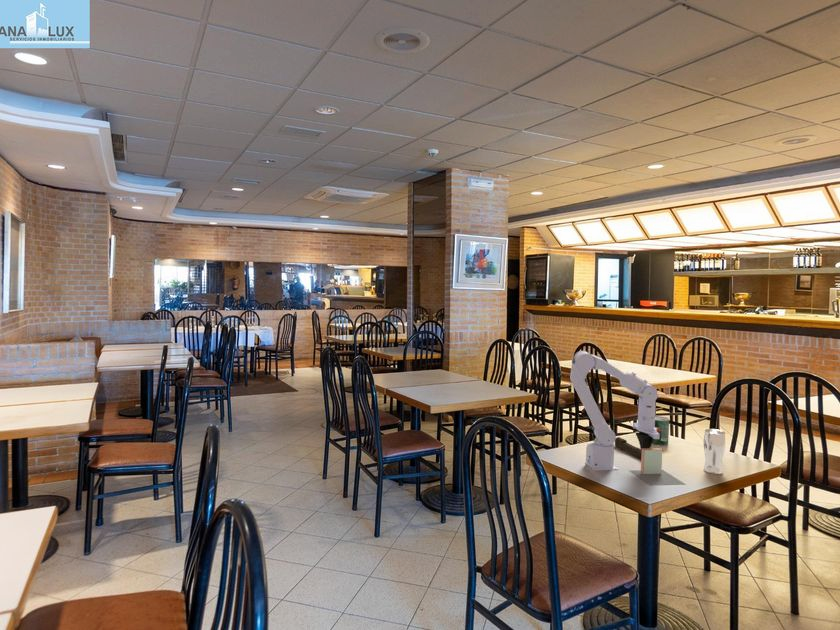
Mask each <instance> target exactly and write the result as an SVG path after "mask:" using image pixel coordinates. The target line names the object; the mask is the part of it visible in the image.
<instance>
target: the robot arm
mask: <svg viewBox="0 0 840 630" xmlns="http://www.w3.org/2000/svg"><path fill="white" fill-rule="evenodd" d="M591 370H595V371H597V370H598V371H599V370H601V371H603V372H605V373H607V374H608V375H610V376H612V377H613V378H616V379H617V380H618V381H619V384H620V386H622V387H623V388H625V389H627V390H629V391H630V392H632V393H634V394H635V395H638V406H637V409H638V411H637V422H634V423H632V428H633V429H635V430H636V431H637V432H635V436H636V438H637V440H638V444H639V449H641V452H642V449H643V448H651V446H652V445H653V444H652V442H653V441H654V439H659V437H660V434H659V433H658V432H657V428H655V416H656V400H657V399H658V397H659V393H658V390H657V388H656V387H655V386H654V385H652V384H650V383H649V382H648V380H646V379H642V378H640V377H638V376H637V374H636V373H635V372H633V371H632V372H630V371H625V372H623V371H621V370H620V369H619V368H617V367H615V366H614V365H612V364H611V363H609V362H608V361H606V360H604V359H602V358H601V357H599V356H597V355H595V354H592V353H591V354H590V353H589V352H587V351H586V350H579V351H577V352H576V353H575V354H574V355H573V358H572V359H571V367H570V375H569V376H570V377H569V379H570V381H571V383H572V385H573V388H574V389H575V391H576V393H577V395H578V398H579V399H580V402H581V404H582V405H583V408H584V409H585V411H586V414H587V416H588V418H589V419H590V422H591V424H592V426H593V435H594V436H595V437H594V440H593V442H591V443H587V445H586V451H585V452H586V453H585V462H584V464H585V465H587V467H589V468H590V469H592V470H593V471H619V468H618V467H616V466H615V464H614V463H615V462H614V461H615V459H614V458H615V456H614V455H615V440H616V438H617V436H616V433H615V432H614V431H613V430H612V428H611V426H610V425H609V424H608V423H607V422H606V420H605V418H604V416H603V414H602V412H601V411H600V408H599V406H598V404H597V403H596V401H595V398H594V396H593V394H592V392H591V389H590V388H589V387H588V384H587V382H586V377H587V375H588V373H589V372H591ZM638 431H639V432H638Z"/></svg>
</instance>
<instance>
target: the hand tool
mask: <svg viewBox="0 0 840 630" xmlns="http://www.w3.org/2000/svg"><path fill="white" fill-rule="evenodd" d="M614 447H616V448H617V449H618V450H620V451H625V452H627V453H629V454H630V455H632V456H634V457H635V458H638V459H639V460H640V461H641V454H642V452H641V448H640V447H636V446H635V445H632V444H631V443H629V442H628V441H627V439H624V438H622V437H620V436H616V440H615V442H614Z"/></svg>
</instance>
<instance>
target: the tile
mask: <svg viewBox="0 0 840 630" xmlns="http://www.w3.org/2000/svg"><path fill="white" fill-rule="evenodd" d="M662 461H663V449H662V448H660V447H656V448H655V447H652V448H651V447H650V448H643V449H642V454H641V460H640V470H641V474H661V470H663V469H662V468H663V467H662V465H663V462H662Z"/></svg>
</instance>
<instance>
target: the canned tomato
mask: <svg viewBox="0 0 840 630" xmlns="http://www.w3.org/2000/svg"><path fill="white" fill-rule="evenodd" d="M670 420H671V419H670V418H668V417H664V416H659V415H655V428H657V432H658V433H659V434H660V437H659V439H654V441H653V442H652V444H651V445H653V446H657V445H660V447H666V445H667V446H668V445H669V434H670Z"/></svg>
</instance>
